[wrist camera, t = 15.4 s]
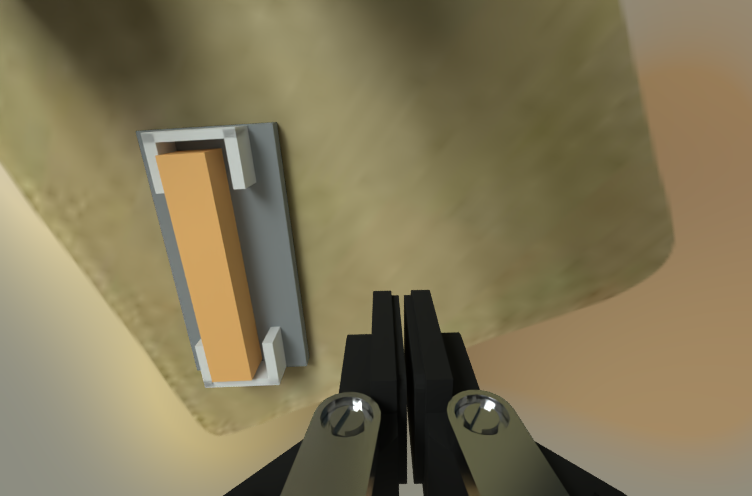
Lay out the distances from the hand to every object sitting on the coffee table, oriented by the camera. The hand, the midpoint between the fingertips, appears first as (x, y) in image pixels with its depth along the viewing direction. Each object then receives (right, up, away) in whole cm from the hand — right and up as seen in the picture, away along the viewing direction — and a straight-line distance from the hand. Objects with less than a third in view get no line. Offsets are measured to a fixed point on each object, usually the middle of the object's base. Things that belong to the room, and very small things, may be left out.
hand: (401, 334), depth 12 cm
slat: (-16, +1, +26) cm, 31 cm away
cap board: (-15, +2, +27) cm, 31 cm away
